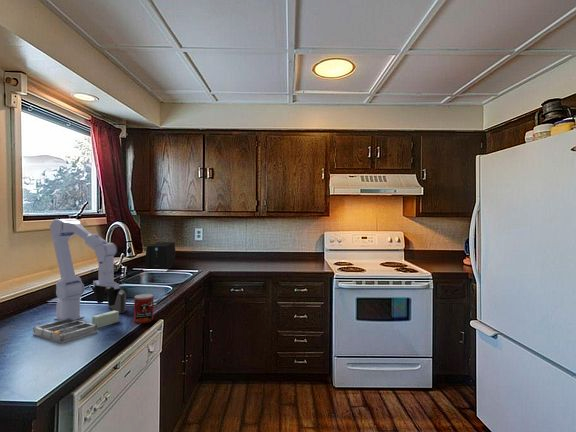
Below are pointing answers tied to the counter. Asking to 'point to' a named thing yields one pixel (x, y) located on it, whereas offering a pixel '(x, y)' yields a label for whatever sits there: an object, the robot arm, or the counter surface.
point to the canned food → (143, 308)
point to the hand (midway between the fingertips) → (106, 304)
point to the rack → (64, 330)
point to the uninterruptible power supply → (160, 255)
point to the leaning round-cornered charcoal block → (119, 302)
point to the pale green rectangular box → (105, 318)
